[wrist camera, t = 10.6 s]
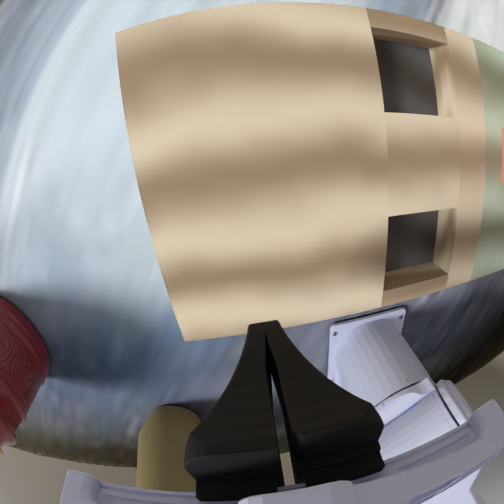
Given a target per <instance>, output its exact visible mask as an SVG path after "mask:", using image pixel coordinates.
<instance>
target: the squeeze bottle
mask: <svg viewBox="0 0 504 504" xmlns="http://www.w3.org/2000/svg"><path fill="white" fill-rule="evenodd" d="M200 422H201V421H200V419H199V417H198V416H197V414H195V413H194V412H192V411H191V410H189V409H186V408H183V407H179V406H172V405H168V406H160V407H158V408H155V410H154V411H153V412H152V414H151V415H150V417H149V418H148V420H147V421H146V423H145V424H144V426H143V427H142V429H141V430H140V432H139V441H138V458H137V488H141V489H150V490H160V491H174V492H196V480H195V479H194V478H193V477H192V476H191V475H190V474H189V473H188V472H187V471H186V470H185V468H184V453H185V447H186V443H187V440H188V437H189V434H190V432H191V431H192V430H193V429H194V428H195V427H196V426H197V425H198V424H199V423H200Z"/></svg>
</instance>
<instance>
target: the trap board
mask: <svg viewBox="0 0 504 504" xmlns="http://www.w3.org/2000/svg"><path fill="white" fill-rule="evenodd" d="M115 34H116V48H117V59H118V69H119V78H120V86H121V93H122V101H123V107H124V114H125V120H126V126H127V132H128V138H129V143H130V148H131V154H132V159H133V164H134V168H135V173H136V178H137V182H138V187H139V191H140V195H141V200H142V204H143V208H144V212H145V216H146V220H147V223H148V227H149V231H150V235H151V238H152V242H153V245H154V249H155V252H156V256H157V259H158V263H159V266H160V269H161V273H162V276H163V279H164V282H165V285H166V288H167V292H168V295H169V298H170V301H171V304H172V307H173V310H174V312H175V315H176V318H177V321H178V324H179V327H180V329H181V332H182V335H183V338H184V340H185V341H194V340H203V339H211V338H219V337H227V336H234V335H241V334H247V331H248V326H249V324H254V323H260V322H266V321H272V320H278V321H279V322H280V325H281V327H282V328H285V327H291V326H296V325H302V324H307V323H312V322H317V321H322V320H327V319H332V318H336V317H341V316H346V315H350V314H354V313H359V312H363V311H367V310H371V309H375V308H379V307H383V306H387V305H391V304H395V303H399V302H402V301H406V300H410V299H413V298H417V297H420V296H424V295H427V294H431V293H434V292H437V291H441V290H444V289H447V288H450V287H453V286H456V285H459V284H463V283H466V282H469V281H471V280H474V279H477V278H480V277H483V276H486V275H489V274H491V273H494V272H497V271H499V270H502V269H504V184H501V175H502V129H501V128H503V129H504V52H502V51H500V50H498V49H496V48H494V47H492V46H490V45H487V44H485V43H483V42H481V41H478V40H476V39H474V38H471V37H469V36H466V35H464V34H461V33H459V32H456V31H453V30H451V29H448V28H445V27H442V26H439V25H436V24H432V23H429V22H426V21H422V20H419V19H415V18H411V17H407V16H403V15H399V14H394V13H390V12H385V11H379V10H374V9H368V8H361V7H354V6H346V5H336V4H324V3H302V2H278V3H256V4H243V5H233V6H225V7H218V8H211V9H205V10H199V11H194V12H189V13H184V14H179V15H175V16H171V17H166V18H163V19H159V20H155V21H151V22H148V23H144V24H141V25H138V26H135V27H132V28H129V29H126V30H123V31H120V32H117V33H115Z"/></svg>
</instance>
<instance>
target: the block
mask: <svg viewBox="0 0 504 504" xmlns="http://www.w3.org/2000/svg"><path fill="white" fill-rule="evenodd" d="M501 129H502V175H501V184H504V129H503V128H501Z"/></svg>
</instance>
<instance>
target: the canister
mask: <svg viewBox="0 0 504 504" xmlns="http://www.w3.org/2000/svg"><path fill="white" fill-rule="evenodd" d="M49 367H50V357H49V353H48V350H47V348H46V346H45V344H44V342H43V340H42V338H41V336H40V335H39V333H38V332H37V330H36V329H35V328H34V326H33V325H32V324H31V322H30V321H29V320H28V319H27V318H26V317H25V316H24V315H23V314H22V313H21V312H20V311H19V310H18V309H17V308H16V307H15V306H14V305H12V304H11V303H10V302H8V301H7V300H5V299H3V298H2V297H0V456H2V455H3V451H2V449H1V447H2V446H3V445H15V444H16V442H17V440H16V436H15V431H16V429H17V427H18V426H19V424H22V423H24V422H25V420H26V415H27V413H28V411H29V408H30V406H31V404H32V402H33V400H34V398H35V396H36V394H37V392H38V390H39V388H40V387H41V386H42V385H43V384H44V382H45V380H46V378H47V375H48V370H49Z"/></svg>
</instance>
